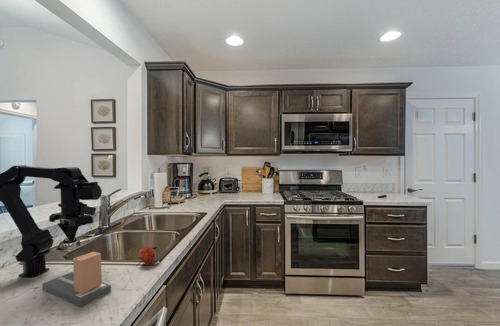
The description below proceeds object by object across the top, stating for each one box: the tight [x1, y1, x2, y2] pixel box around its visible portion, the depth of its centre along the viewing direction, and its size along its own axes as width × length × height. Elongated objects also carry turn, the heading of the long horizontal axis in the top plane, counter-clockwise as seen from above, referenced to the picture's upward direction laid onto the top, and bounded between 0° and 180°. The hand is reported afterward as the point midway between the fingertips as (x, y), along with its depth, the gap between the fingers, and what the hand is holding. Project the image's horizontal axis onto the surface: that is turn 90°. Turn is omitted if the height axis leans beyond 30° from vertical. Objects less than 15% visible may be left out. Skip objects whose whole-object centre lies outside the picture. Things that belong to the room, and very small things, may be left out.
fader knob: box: [72, 251, 103, 294], centre depth 74 cm, size 4×6×10 cm, turn 154°
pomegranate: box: [135, 246, 158, 267], centre depth 96 cm, size 7×7×10 cm
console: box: [41, 271, 112, 308], centre depth 77 cm, size 22×9×2 cm, turn 64°
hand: (71, 241), depth 90 cm, fingers closed
